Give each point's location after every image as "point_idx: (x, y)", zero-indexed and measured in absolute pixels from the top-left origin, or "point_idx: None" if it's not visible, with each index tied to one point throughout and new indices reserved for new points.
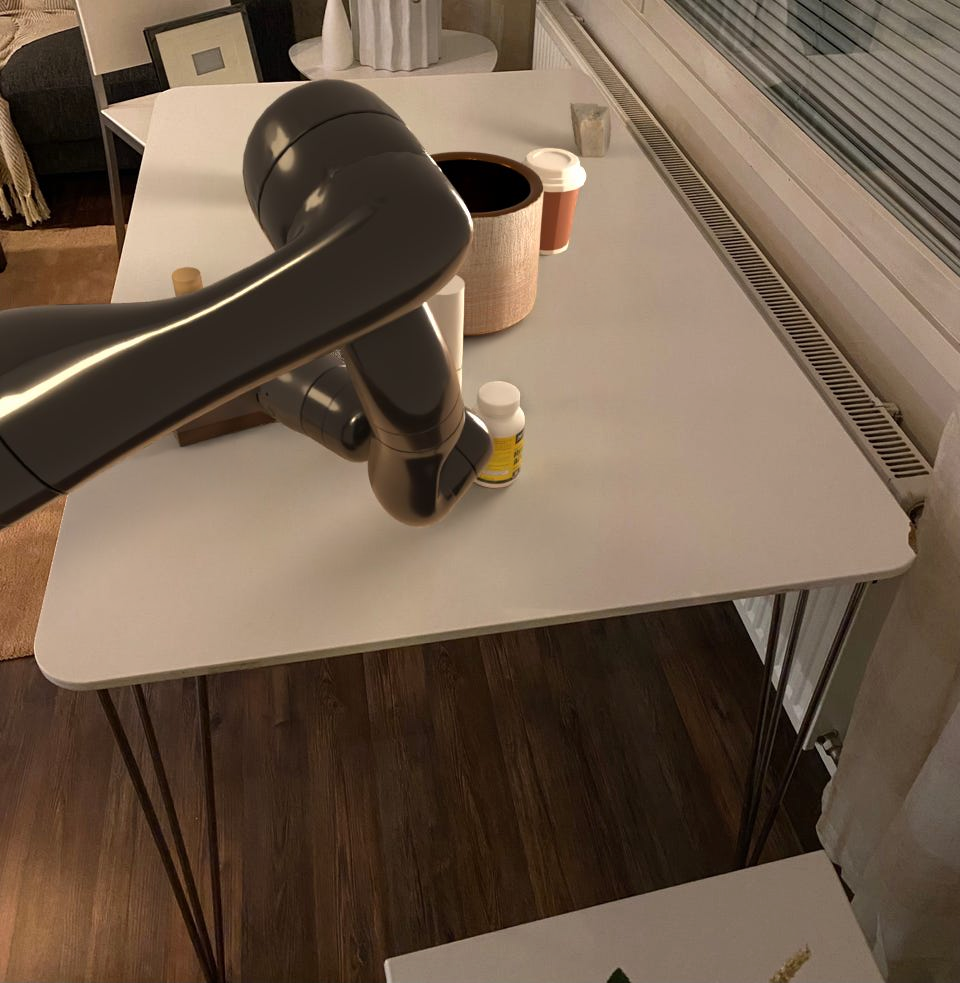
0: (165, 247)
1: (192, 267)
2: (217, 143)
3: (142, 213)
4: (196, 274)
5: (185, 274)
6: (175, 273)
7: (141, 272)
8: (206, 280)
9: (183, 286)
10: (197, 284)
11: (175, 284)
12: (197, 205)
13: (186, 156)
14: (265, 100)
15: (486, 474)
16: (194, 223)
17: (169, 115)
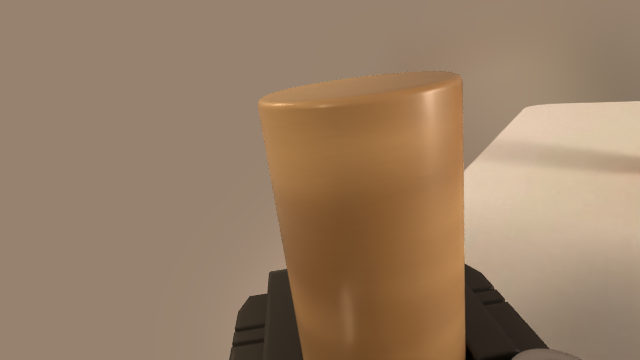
0: (481, 195)
1: (427, 72)
2: (565, 129)
3: (471, 166)
4: (421, 83)
5: (349, 85)
6: (307, 87)
7: None
8: (522, 239)
9: (285, 152)
10: (402, 157)
11: (264, 140)
12: (532, 166)
13: (531, 135)
14: (619, 108)
15: None
16: (524, 179)
17: (524, 115)
